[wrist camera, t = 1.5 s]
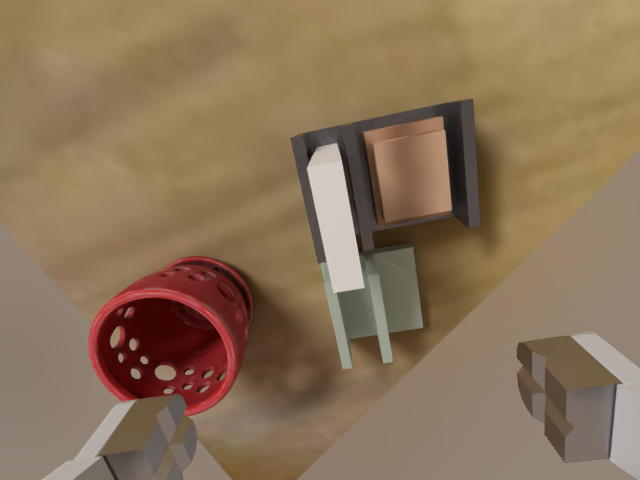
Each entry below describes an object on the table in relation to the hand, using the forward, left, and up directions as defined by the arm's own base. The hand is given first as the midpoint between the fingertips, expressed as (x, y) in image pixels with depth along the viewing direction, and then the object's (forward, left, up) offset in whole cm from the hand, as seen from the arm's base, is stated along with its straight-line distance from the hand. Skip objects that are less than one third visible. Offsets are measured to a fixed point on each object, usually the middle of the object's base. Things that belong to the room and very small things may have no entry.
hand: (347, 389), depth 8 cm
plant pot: (+17, +10, -30) cm, 36 cm away
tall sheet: (0, 0, -28) cm, 28 cm away
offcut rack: (-5, 0, -30) cm, 30 cm away
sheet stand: (-2, +13, -30) cm, 32 cm away
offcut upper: (-7, 0, -26) cm, 27 cm away
